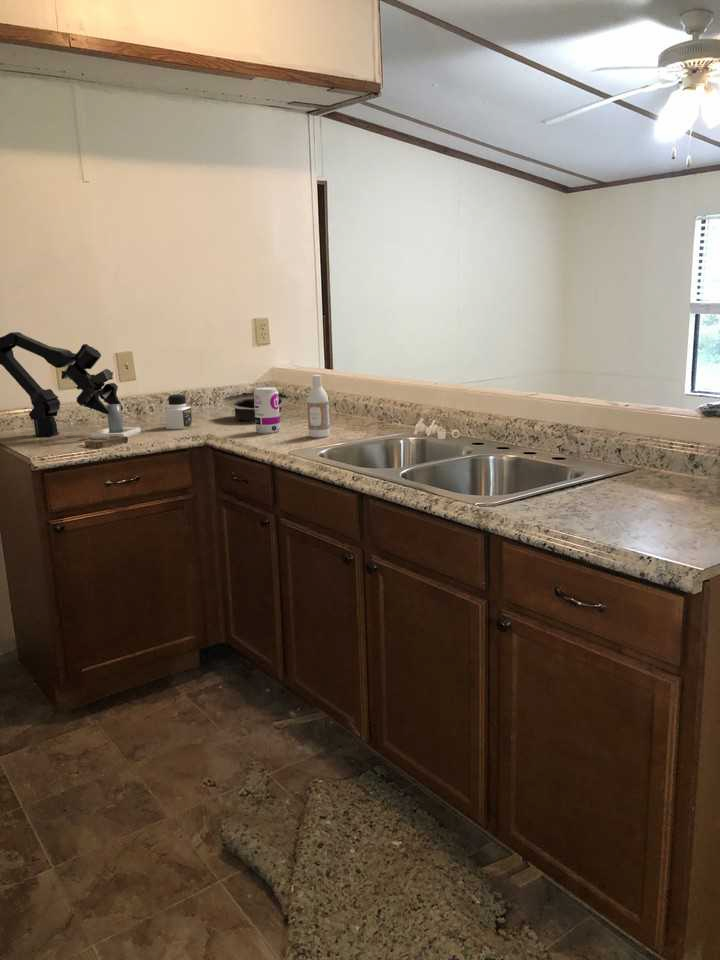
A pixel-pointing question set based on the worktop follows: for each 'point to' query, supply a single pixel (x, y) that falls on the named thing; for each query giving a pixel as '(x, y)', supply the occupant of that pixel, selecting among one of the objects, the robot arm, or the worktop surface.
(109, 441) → the socket
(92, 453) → the worktop surface
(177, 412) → the medicine bottle
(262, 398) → the supplement can
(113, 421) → the grey rounded upright piece
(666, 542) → the worktop surface
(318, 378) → the bath foam
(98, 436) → the dish
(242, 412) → the stone bowl
